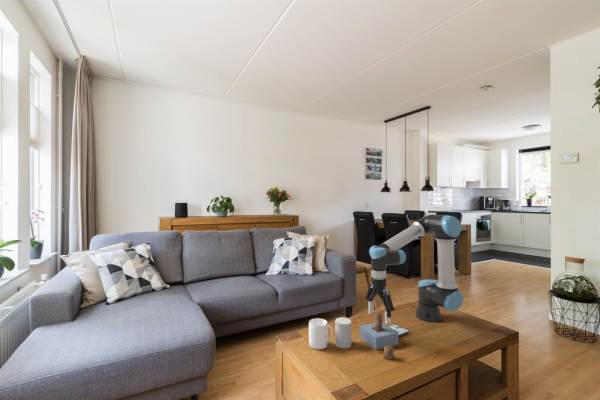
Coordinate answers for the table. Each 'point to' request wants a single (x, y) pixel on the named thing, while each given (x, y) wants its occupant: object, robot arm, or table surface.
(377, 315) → the long dowel
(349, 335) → the cup
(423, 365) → the table surface
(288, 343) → the table surface
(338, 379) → the table surface
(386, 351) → the short dowel
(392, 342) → the socket block
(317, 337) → the mug
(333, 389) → the table surface
